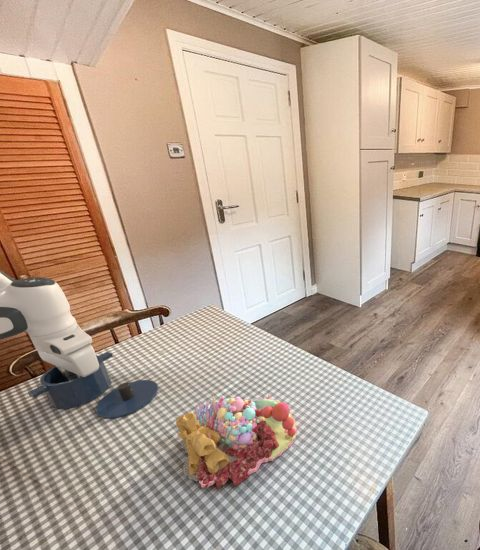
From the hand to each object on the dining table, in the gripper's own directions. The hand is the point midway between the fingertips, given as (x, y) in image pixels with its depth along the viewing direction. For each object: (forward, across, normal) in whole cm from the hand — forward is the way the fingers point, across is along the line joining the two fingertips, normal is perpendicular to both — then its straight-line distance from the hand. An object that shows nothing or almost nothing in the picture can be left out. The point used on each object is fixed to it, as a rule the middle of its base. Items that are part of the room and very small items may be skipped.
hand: (76, 378), depth 84 cm
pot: (+5, 0, 0) cm, 5 cm away
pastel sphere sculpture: (+5, +52, +5) cm, 53 cm away
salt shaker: (+5, 0, 0) cm, 5 cm away
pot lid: (+5, +15, +3) cm, 16 cm away
